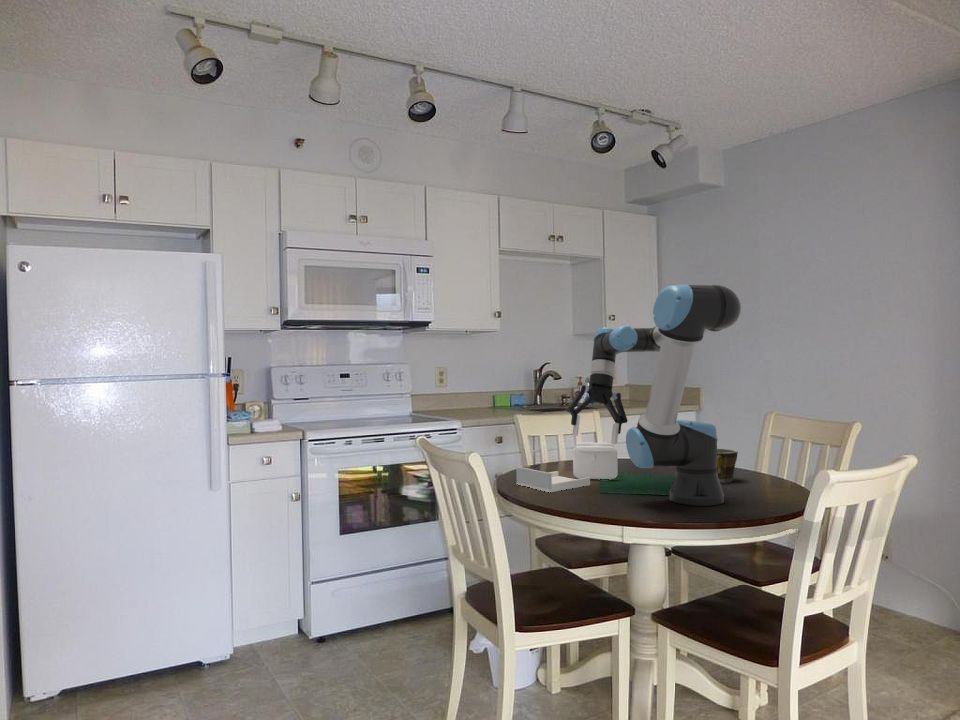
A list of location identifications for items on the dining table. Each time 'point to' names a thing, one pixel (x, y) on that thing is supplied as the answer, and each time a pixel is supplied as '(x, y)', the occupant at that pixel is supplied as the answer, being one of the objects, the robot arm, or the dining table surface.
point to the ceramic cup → (726, 464)
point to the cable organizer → (595, 460)
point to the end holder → (547, 480)
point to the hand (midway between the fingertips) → (594, 439)
